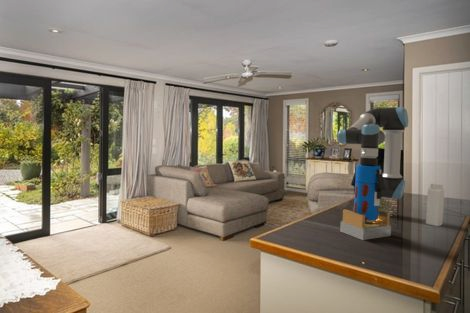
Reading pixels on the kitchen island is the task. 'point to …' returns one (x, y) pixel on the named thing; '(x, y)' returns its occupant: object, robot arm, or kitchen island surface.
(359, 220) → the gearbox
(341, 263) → the kitchen island surface
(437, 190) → the milk
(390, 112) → the robot arm
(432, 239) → the kitchen island surface
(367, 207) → the thermos
